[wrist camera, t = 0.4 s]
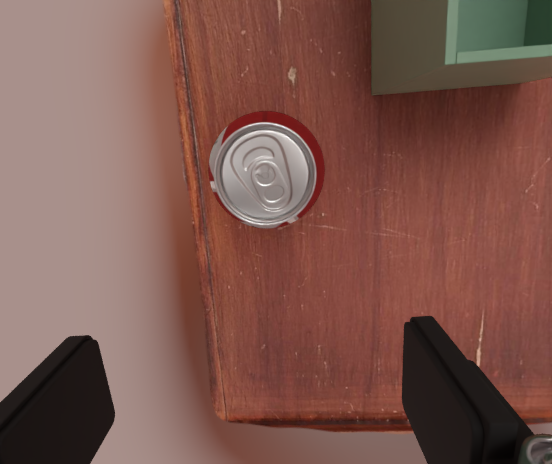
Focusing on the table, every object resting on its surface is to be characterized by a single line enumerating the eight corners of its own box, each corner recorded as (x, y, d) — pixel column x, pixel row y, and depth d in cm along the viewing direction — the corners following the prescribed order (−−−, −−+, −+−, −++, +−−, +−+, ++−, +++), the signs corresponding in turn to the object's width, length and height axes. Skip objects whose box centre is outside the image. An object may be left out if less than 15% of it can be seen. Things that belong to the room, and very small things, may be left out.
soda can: (290, 103, 29) (296, 84, 17) (323, 178, 31) (348, 205, 19) (218, 140, 30) (178, 145, 18) (254, 210, 31) (237, 256, 20)
